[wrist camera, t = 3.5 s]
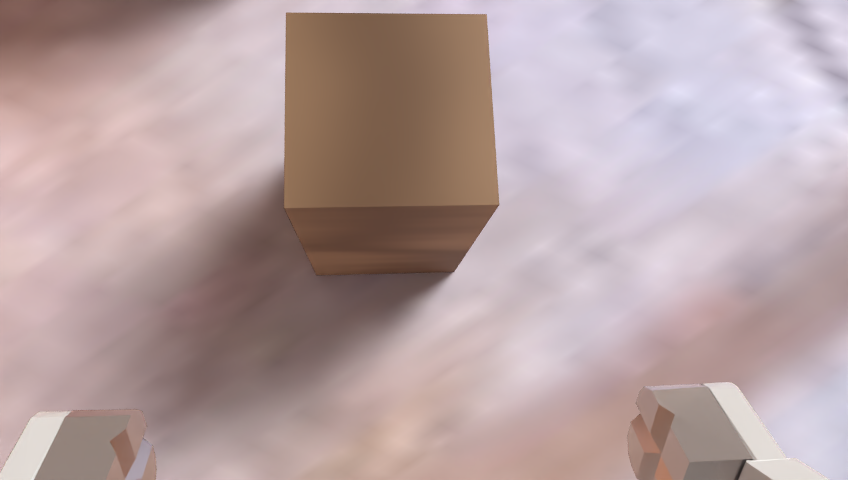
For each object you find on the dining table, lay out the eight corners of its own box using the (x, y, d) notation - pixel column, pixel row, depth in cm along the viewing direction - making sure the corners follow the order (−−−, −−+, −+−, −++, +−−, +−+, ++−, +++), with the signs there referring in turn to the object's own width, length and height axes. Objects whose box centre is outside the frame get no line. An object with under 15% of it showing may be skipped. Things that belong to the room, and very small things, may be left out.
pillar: (447, 144, 23) (486, 14, 15) (453, 272, 22) (499, 204, 14) (316, 145, 22) (285, 12, 15) (316, 275, 21) (284, 208, 14)
